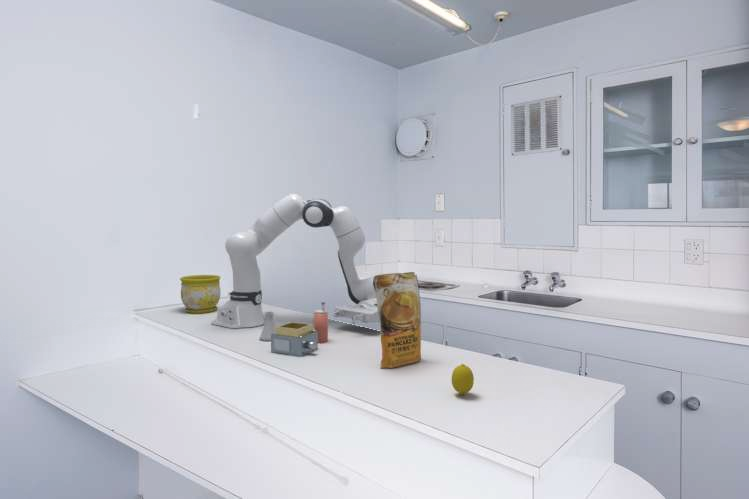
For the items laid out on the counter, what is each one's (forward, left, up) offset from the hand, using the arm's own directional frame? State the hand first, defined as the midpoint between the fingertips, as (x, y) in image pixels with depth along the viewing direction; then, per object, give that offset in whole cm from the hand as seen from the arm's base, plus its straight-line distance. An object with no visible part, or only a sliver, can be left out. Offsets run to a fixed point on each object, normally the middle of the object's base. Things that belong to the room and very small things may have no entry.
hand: (343, 316), depth 180 cm
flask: (-22, -17, -7) cm, 29 cm away
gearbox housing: (-4, -26, -7) cm, 27 cm away
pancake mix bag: (+32, -24, -7) cm, 40 cm away
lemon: (+56, -42, -7) cm, 70 cm away
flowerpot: (-83, +12, -7) cm, 84 cm away
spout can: (-3, -12, -7) cm, 14 cm away
